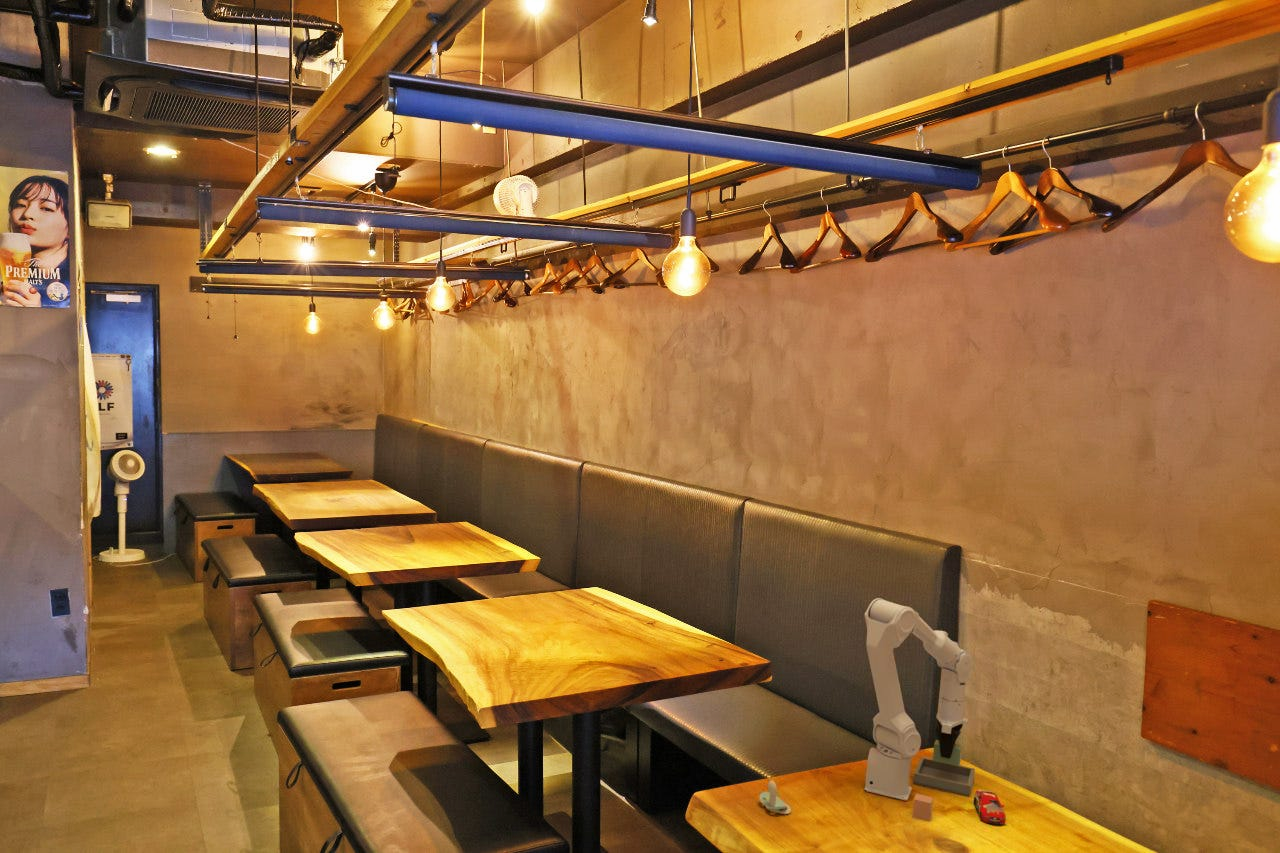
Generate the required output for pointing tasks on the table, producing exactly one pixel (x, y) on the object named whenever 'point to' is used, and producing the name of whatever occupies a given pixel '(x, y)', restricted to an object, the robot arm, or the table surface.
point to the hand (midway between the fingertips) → (946, 754)
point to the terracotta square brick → (922, 807)
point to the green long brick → (955, 756)
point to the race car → (989, 807)
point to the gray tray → (944, 777)
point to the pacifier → (773, 800)
